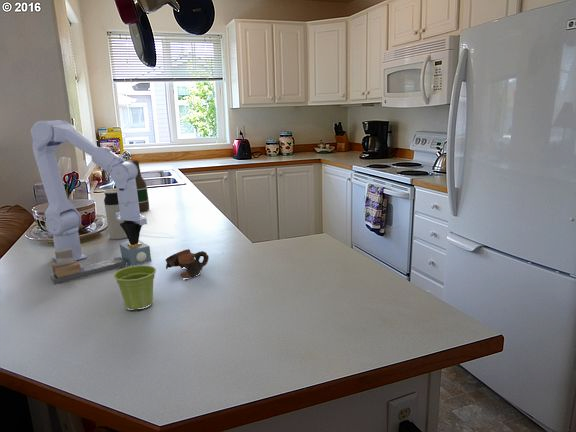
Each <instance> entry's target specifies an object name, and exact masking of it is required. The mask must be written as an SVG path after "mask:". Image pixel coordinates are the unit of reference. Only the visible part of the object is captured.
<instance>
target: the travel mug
mask: <svg viewBox="0 0 576 432" xmlns="http://www.w3.org/2000/svg"><path fill="white" fill-rule="evenodd" d="M103 193H104V196H105V197H104V199H103V202H104V203H103V204H104V210H105V215H106V223H107V228H108V229H107V230H108V235H109V238H110V239H111V240H123V239H128V238H127V235H126V233H125V231H124V230H123V228H122V227H121V226H120V223H124V220H122V221H119V220H117V219H116V214H115V213H119V212H120V209H119V202H118V195H117V188H116V187H115V188H109V189H106V190H103Z"/></svg>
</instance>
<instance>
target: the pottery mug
mask: <svg viewBox="0 0 576 432" xmlns="http://www.w3.org/2000/svg"><path fill="white" fill-rule="evenodd" d="M201 257H203V259H202V262H201V261H200V259H201ZM208 261H209V255H208V254H207V252H206V251H204V250H203V251H198V252H194V253H193V252H191V249H189V248H188V249H183V250H181V251H178V252H176V253H173V254H172V255H169V256H168V257H167V258H165V262H166V263H165V264H166V265H165V269H166V270H168V268H170V269H171V268H173V267H180V269H182V268H183V267H185V271H183V272H181V273H180V276H181V278H182V280H183V278H190V277H192V278H195V277H194V276H196V275H198V274H199V273H200V274H201V271H202V270H203V267H205V266H206V265H207V264H208ZM196 277H197V276H196ZM190 279H191V278H190Z"/></svg>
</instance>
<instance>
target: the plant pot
mask: <svg viewBox="0 0 576 432" xmlns="http://www.w3.org/2000/svg"><path fill="white" fill-rule="evenodd" d="M156 273H157V269H156V267H154V266H151V265H145V264H144V265H143V264H139V265H135V266H128V267H124V268H122V269H119V270H117V271H116V272H115V273H114V274H113V278H114V280H116V283H117V285H118V286H119V289H120V294H121V295H122V299H123V303H124V306H125V308H126V307H127V308H129V309H138V308H143V307H146V306H148V305H150V304H151V303H152V302H153V300H154V279H155V274H156ZM152 304H153V303H152Z"/></svg>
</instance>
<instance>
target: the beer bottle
mask: <svg viewBox="0 0 576 432" xmlns="http://www.w3.org/2000/svg"><path fill="white" fill-rule="evenodd" d="M131 161H132V162H133V163H134V164H135V165H136V166H137V168H138V175H137V177H136V178H135V179H136V187H137V194H138V202H139V210H140V213H142V212H143V213H144V212H147V211H149V210H150V201H149V193H148V187H147V182H146V180H145V179H144V178H143V176H142V174H141V167H140V161H139V160H137V159H133V160H131Z"/></svg>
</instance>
